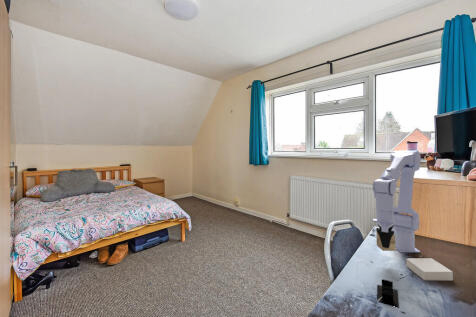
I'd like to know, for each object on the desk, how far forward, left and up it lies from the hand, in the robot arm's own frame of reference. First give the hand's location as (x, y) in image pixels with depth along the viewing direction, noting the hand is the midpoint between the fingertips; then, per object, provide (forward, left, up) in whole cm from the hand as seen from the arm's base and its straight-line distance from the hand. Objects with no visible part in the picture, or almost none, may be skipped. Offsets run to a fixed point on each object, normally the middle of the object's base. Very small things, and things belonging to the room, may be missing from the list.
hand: (385, 244), depth 84 cm
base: (+6, +11, -8) cm, 15 cm away
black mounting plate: (+19, -10, -9) cm, 23 cm away
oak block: (0, 0, -2) cm, 2 cm away
